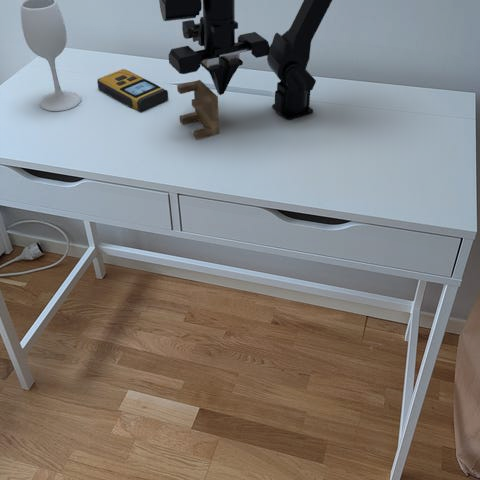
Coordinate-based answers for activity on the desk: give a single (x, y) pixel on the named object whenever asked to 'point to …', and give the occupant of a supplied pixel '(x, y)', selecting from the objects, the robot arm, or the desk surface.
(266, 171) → the desk surface
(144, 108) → the electronic device
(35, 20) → the wineglass
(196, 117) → the footstool
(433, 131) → the desk surface
